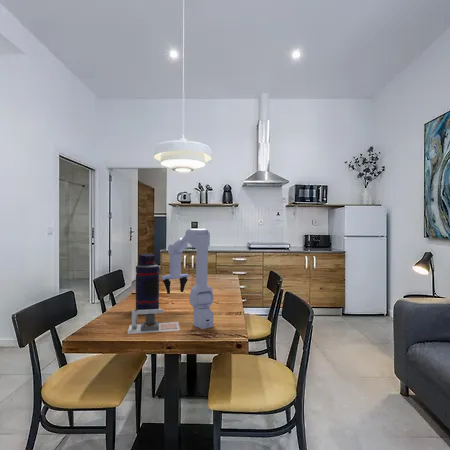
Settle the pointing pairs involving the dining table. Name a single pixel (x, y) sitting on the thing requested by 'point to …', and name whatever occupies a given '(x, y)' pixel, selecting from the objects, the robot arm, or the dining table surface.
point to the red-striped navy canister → (147, 283)
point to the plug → (149, 319)
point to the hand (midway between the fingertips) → (175, 292)
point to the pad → (169, 326)
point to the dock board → (150, 328)
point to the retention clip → (136, 312)
